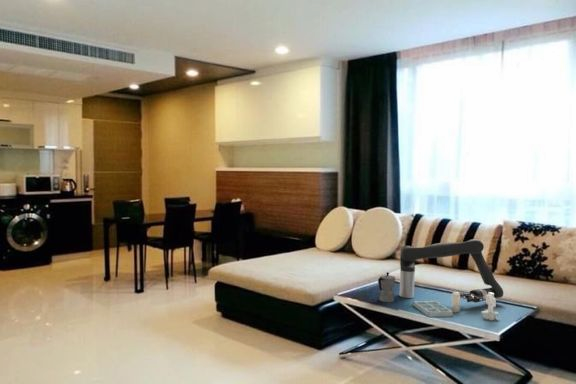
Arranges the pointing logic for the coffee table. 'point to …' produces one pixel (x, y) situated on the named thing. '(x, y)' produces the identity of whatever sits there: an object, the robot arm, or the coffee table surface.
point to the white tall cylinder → (455, 302)
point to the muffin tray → (432, 308)
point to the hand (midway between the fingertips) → (461, 298)
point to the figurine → (490, 307)
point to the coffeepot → (386, 288)
